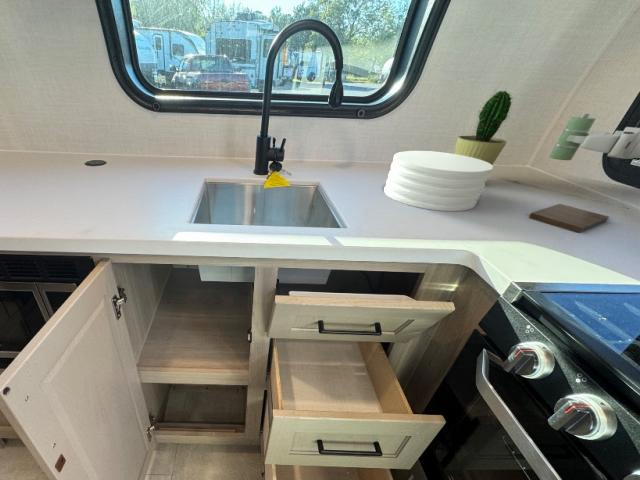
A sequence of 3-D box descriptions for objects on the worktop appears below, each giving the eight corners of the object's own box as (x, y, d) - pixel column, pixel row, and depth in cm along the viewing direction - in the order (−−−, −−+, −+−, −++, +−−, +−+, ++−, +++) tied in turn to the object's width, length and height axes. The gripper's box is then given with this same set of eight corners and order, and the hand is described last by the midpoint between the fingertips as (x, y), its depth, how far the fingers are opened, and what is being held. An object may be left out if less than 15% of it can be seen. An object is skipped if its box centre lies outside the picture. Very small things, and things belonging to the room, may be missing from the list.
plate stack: (496, 207, 99) (516, 169, 92) (423, 214, 92) (439, 174, 86) (430, 181, 121) (442, 149, 114) (367, 186, 114) (376, 152, 107)
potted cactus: (438, 173, 131) (471, 86, 113) (479, 177, 128) (520, 88, 110) (446, 184, 119) (485, 88, 101) (492, 188, 116) (541, 90, 98)
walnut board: (556, 208, 100) (559, 203, 99) (605, 221, 91) (609, 216, 90) (528, 217, 92) (531, 212, 92) (579, 233, 84) (582, 227, 83)
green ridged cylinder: (572, 158, 115) (600, 113, 107) (570, 161, 111) (598, 115, 103) (549, 155, 119) (574, 112, 110) (546, 158, 115) (571, 113, 107)
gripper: (631, 129, 107) (578, 124, 115) (629, 134, 96) (571, 129, 104) (617, 149, 111) (567, 143, 119) (614, 157, 100) (559, 149, 107)
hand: (569, 136), depth 111 cm, fingers closed on green ridged cylinder, 6 cm apart
